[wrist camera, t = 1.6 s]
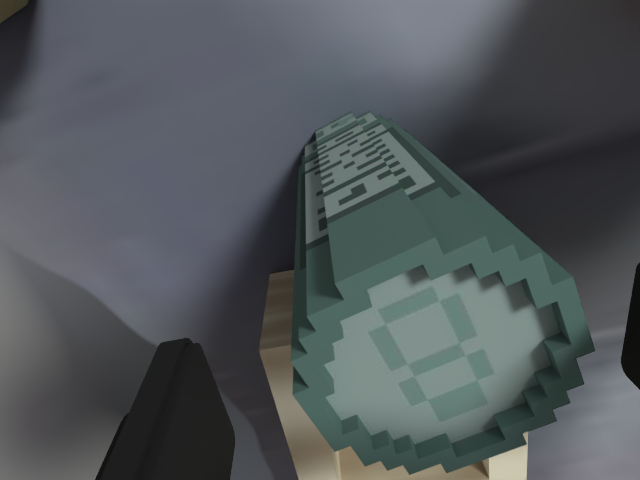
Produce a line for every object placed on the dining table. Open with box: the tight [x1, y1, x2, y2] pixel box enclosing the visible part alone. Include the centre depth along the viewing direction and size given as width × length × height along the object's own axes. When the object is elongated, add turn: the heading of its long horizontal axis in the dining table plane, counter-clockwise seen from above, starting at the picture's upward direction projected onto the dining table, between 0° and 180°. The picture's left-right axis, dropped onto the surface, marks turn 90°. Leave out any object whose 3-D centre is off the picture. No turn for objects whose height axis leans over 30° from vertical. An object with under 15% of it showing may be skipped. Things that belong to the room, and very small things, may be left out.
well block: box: [259, 270, 528, 480], centre depth 25 cm, size 14×12×7 cm
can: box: [291, 111, 595, 475], centre depth 16 cm, size 6×6×15 cm
